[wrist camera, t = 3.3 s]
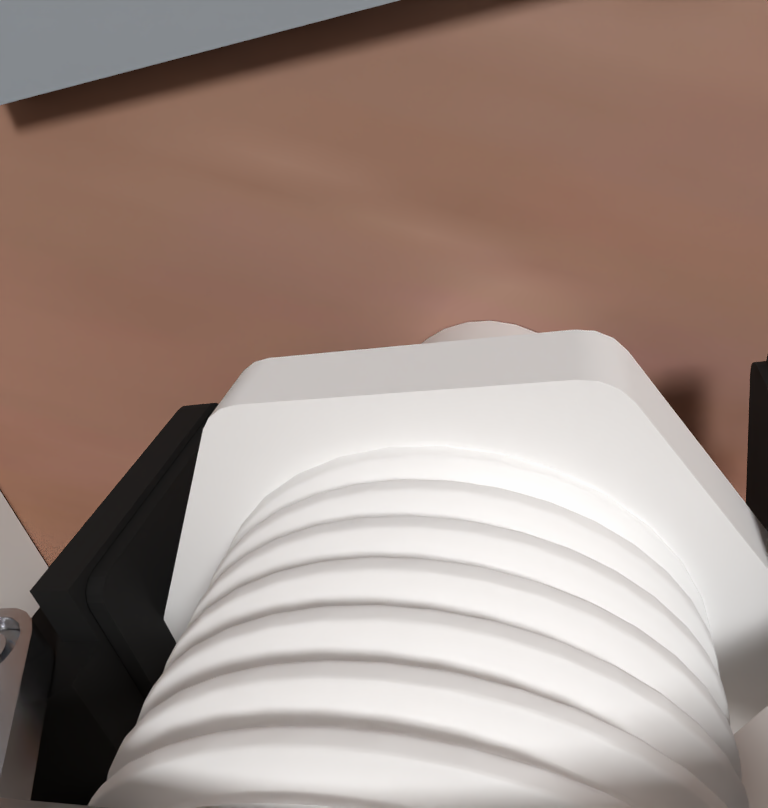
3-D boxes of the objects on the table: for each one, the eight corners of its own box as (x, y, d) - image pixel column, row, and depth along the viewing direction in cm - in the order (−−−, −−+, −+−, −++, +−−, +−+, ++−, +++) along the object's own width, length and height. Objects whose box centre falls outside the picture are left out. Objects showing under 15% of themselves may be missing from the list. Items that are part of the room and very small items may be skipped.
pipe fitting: (807, 290, 10) (1335, 1036, 3) (569, 605, 14) (577, 1214, 7) (372, 119, 10) (-35, 502, 3) (264, 487, 14) (-9, 987, 7)
